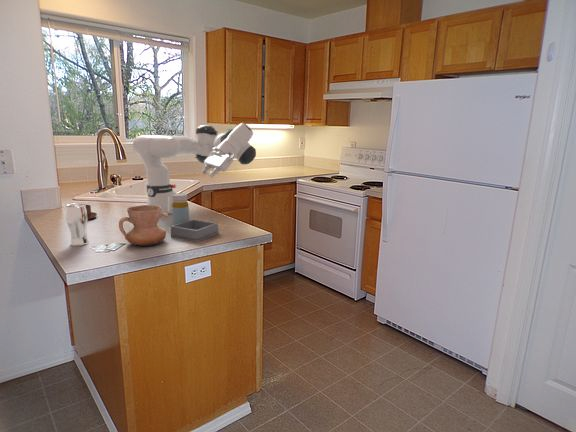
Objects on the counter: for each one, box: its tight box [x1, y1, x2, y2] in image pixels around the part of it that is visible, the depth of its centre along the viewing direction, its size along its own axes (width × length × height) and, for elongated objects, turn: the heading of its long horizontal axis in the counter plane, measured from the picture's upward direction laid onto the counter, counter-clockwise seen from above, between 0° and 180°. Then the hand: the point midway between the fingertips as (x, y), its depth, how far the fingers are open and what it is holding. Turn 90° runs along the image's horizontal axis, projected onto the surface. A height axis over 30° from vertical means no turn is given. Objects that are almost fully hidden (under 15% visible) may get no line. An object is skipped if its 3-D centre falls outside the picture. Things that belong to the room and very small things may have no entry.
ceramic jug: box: [118, 204, 169, 247], centre depth 148 cm, size 18×14×14 cm
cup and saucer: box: [85, 204, 98, 221], centre depth 184 cm, size 12×12×6 cm
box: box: [170, 218, 219, 243], centre depth 160 cm, size 14×14×4 cm
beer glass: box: [65, 203, 90, 247], centre depth 146 cm, size 7×7×15 cm
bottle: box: [171, 192, 190, 226], centre depth 170 cm, size 7×7×15 cm
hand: (206, 175), depth 172 cm, fingers open, 8 cm apart
